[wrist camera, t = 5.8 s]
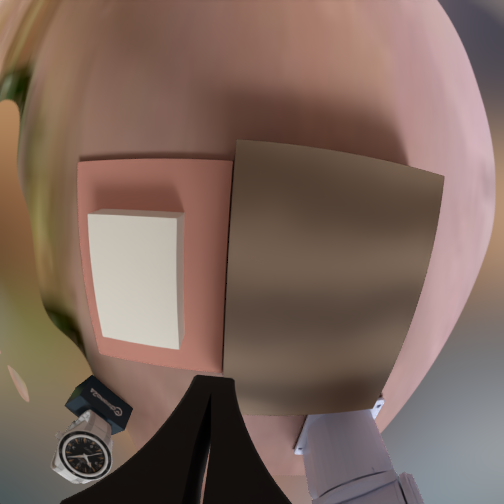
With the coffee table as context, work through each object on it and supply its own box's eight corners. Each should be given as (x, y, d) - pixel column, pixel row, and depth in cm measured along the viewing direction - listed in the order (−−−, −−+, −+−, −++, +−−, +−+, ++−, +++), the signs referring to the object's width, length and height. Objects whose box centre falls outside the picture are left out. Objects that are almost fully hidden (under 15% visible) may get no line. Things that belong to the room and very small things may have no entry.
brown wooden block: (358, 378, 22) (372, 408, 18) (225, 378, 21) (222, 413, 18) (410, 172, 17) (444, 176, 13) (239, 145, 16) (236, 139, 12)
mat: (222, 369, 21) (221, 372, 21) (101, 351, 21) (99, 353, 20) (233, 161, 16) (232, 160, 16) (80, 161, 16) (77, 162, 16)
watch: (143, 403, 23) (112, 492, 12) (106, 421, 24) (76, 492, 14) (100, 367, 21) (50, 453, 11) (69, 391, 23) (29, 459, 12)
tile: (102, 336, 17) (113, 322, 19) (179, 349, 18) (184, 333, 20) (87, 213, 15) (102, 208, 17) (176, 218, 15) (184, 212, 17)
